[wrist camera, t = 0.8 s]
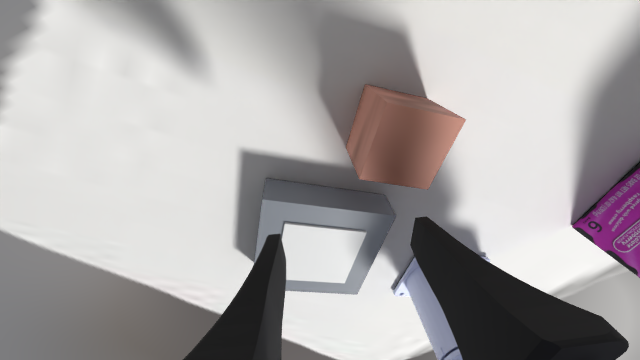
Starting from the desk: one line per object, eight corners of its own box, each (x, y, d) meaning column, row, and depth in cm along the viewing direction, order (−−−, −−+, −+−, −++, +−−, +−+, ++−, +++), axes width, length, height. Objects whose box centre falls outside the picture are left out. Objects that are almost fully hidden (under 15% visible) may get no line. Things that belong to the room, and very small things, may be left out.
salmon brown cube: (426, 98, 18) (465, 119, 14) (401, 156, 21) (427, 189, 17) (364, 83, 17) (387, 102, 13) (345, 146, 20) (359, 179, 16)
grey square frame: (384, 194, 23) (397, 217, 20) (351, 270, 28) (357, 296, 26) (266, 178, 21) (261, 201, 18) (255, 263, 26) (250, 290, 24)
